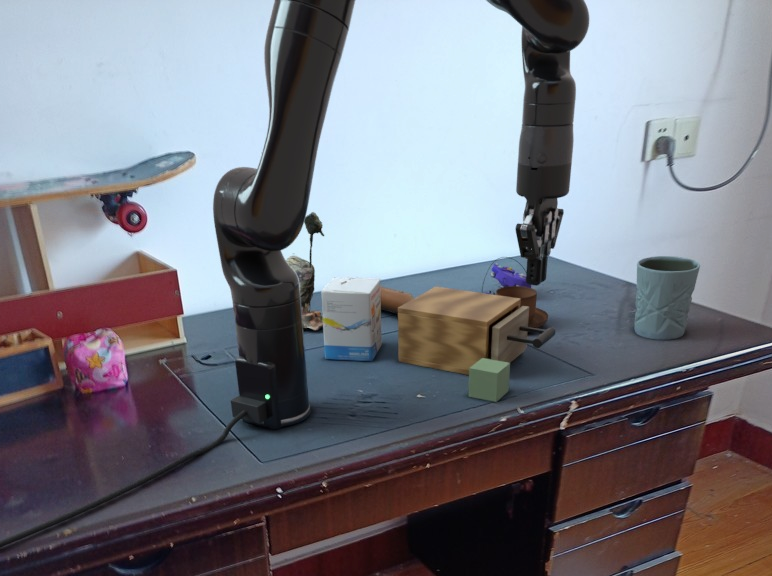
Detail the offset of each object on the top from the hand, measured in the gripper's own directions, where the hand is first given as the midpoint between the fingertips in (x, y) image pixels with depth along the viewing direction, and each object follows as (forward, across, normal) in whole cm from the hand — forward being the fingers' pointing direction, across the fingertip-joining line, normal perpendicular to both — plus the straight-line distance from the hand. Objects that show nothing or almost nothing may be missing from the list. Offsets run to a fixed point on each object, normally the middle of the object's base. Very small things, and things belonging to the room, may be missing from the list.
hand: (535, 282), depth 125 cm
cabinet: (+14, 0, -13) cm, 19 cm away
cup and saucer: (+14, -19, -11) cm, 26 cm away
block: (+14, +12, -2) cm, 19 cm away
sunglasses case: (+14, -17, -35) cm, 41 cm away
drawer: (+13, 0, -7) cm, 15 cm away
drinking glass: (+14, -27, +13) cm, 33 cm away
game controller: (+14, -34, -19) cm, 41 cm away
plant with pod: (+14, -2, -46) cm, 48 cm away
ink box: (+14, +6, -30) cm, 33 cm away
